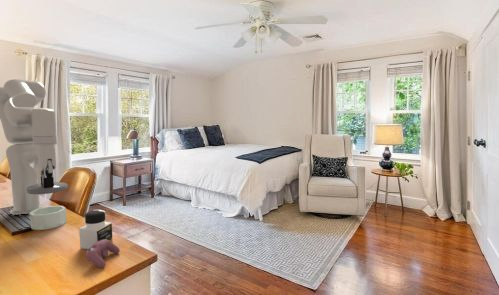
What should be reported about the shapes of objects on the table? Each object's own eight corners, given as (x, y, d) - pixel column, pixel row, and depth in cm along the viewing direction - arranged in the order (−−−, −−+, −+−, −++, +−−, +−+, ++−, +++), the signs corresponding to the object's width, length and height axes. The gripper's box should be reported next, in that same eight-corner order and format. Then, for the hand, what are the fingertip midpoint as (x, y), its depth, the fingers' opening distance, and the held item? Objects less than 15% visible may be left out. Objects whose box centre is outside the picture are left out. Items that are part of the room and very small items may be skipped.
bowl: (27, 224, 111) (26, 210, 110) (61, 217, 120) (60, 204, 119) (35, 232, 104) (34, 217, 103) (70, 223, 112) (69, 209, 112)
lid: (22, 189, 108) (21, 174, 107) (61, 183, 118) (60, 169, 117) (31, 196, 100) (30, 180, 99) (72, 189, 110) (71, 175, 109)
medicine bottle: (98, 251, 90) (96, 215, 89) (79, 248, 91) (77, 214, 90) (113, 241, 97) (111, 208, 96) (95, 239, 98) (93, 207, 97)
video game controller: (110, 256, 90) (99, 238, 89) (121, 251, 89) (111, 232, 89) (91, 273, 80) (80, 253, 79) (105, 267, 79) (93, 246, 79)
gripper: (27, 139, 109) (30, 184, 111) (38, 143, 98) (41, 192, 101) (50, 138, 114) (52, 180, 117) (62, 142, 104) (65, 188, 106)
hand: (47, 185), depth 109 cm, fingers closed on lid, 3 cm apart
